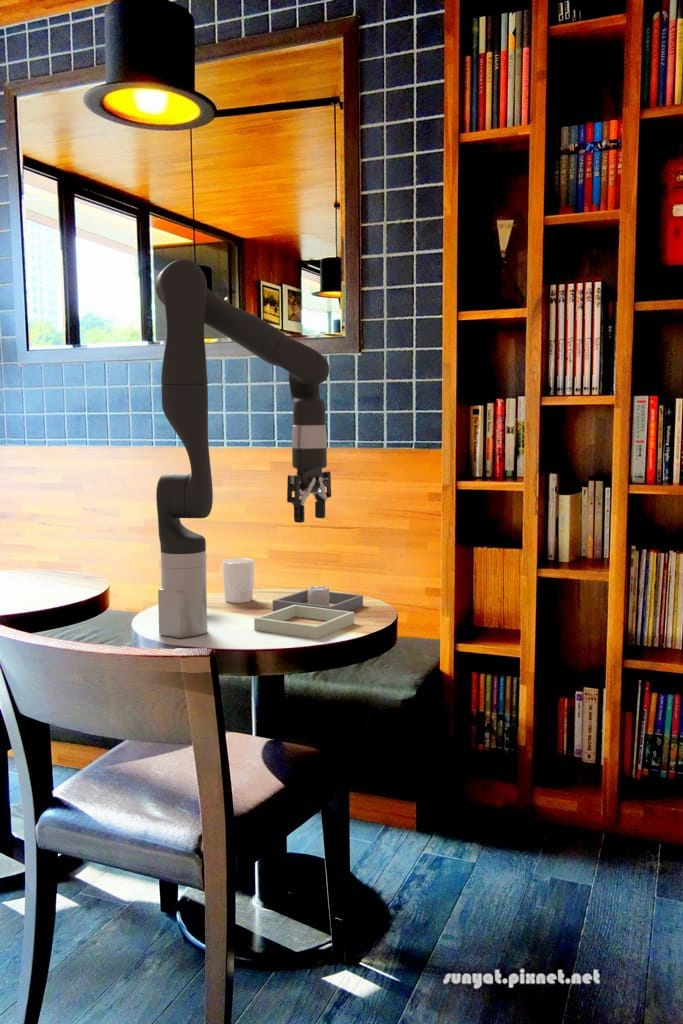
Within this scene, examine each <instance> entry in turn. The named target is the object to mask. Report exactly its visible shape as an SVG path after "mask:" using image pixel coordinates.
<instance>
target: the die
mask: <svg viewBox="0 0 683 1024" xmlns="http://www.w3.org/2000/svg"><path fill="white" fill-rule="evenodd" d="M307 589H308V601H307V604H312V605H321V606H330V602H329V592H330V588H329V586H323V585H315V586H314V585H313V586H308V588H307Z"/></svg>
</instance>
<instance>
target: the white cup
mask: <svg viewBox="0 0 683 1024" xmlns="http://www.w3.org/2000/svg"><path fill="white" fill-rule="evenodd" d="M221 562H222V563H221V565H222V577H223V579H222V580H223V590H224V599H225V600H224V601H225V602H226V603H234V604H237V603H238V604H242V603H243V602H244V603H249V601H250V602H252V600H253V594H254V593H253V592H254V591H253V590H254V581H255V559H252V558H246V557H241V558H239V557H237V558H226V559H223V560H222V561H221Z"/></svg>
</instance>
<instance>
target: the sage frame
mask: <svg viewBox="0 0 683 1024" xmlns="http://www.w3.org/2000/svg"><path fill="white" fill-rule="evenodd" d="M295 616H297V617H296V618H303V617H304V618H305V619H311V620H319V621H324V622H322V623H319V624H316V625H313V624H305V623H298V622H292V621H287V620H289V619H292V617H293V618H295ZM304 618H303V619H304ZM284 620H285V621H284ZM253 621H254V622H253V623H254V629H253V630H254V631H259V630H260V631H262V632H266V633H274V634H281V635H287V636H294V637H300V638H307V639H315V640H318V639H320V638H322V637H323V638H324V637H326V636H328V635H331V634H333V633H334V632H338V631H340V630H342V629H345V628H346V627H349V626H351V625H355V612H354V611H341V610H333V609H325V608H317V607H309V606H301V605H292V606H289V607H286V608H283V609H280V610H277V611H271V612H269V613H266V614H262V615H260V616H256V617H253Z"/></svg>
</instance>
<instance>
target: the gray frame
mask: <svg viewBox="0 0 683 1024" xmlns="http://www.w3.org/2000/svg"><path fill="white" fill-rule="evenodd" d="M307 600H308V588H307V589H304V590H301V591H298V592H295V593H292V594H288V595H285V596H281V597H279V598H276V599H273V600H272V612H274V611H277V610H280V609H283V608H286V607H289V606H292V605H301V606H309V607H317V608H325V609H333V610H341V611H349V612H352V611H353V610H355V609H358V608H360V607H363V606H364V595H361V594H353V593H346V592H337V591H336V592H335V591H329V604H330V603H331V604H332V605H329V606H321V605H312V604H308V603H305V602H308V601H307ZM304 601H305V602H304ZM300 602H302V603H300Z"/></svg>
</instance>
